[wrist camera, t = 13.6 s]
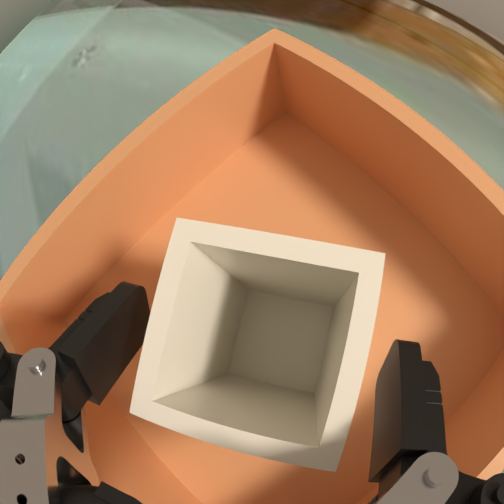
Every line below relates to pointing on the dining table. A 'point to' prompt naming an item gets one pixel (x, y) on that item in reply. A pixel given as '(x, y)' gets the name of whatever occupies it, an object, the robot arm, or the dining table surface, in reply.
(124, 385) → the large crate
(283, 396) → the small crate
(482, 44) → the dining table surface
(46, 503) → the robot arm
